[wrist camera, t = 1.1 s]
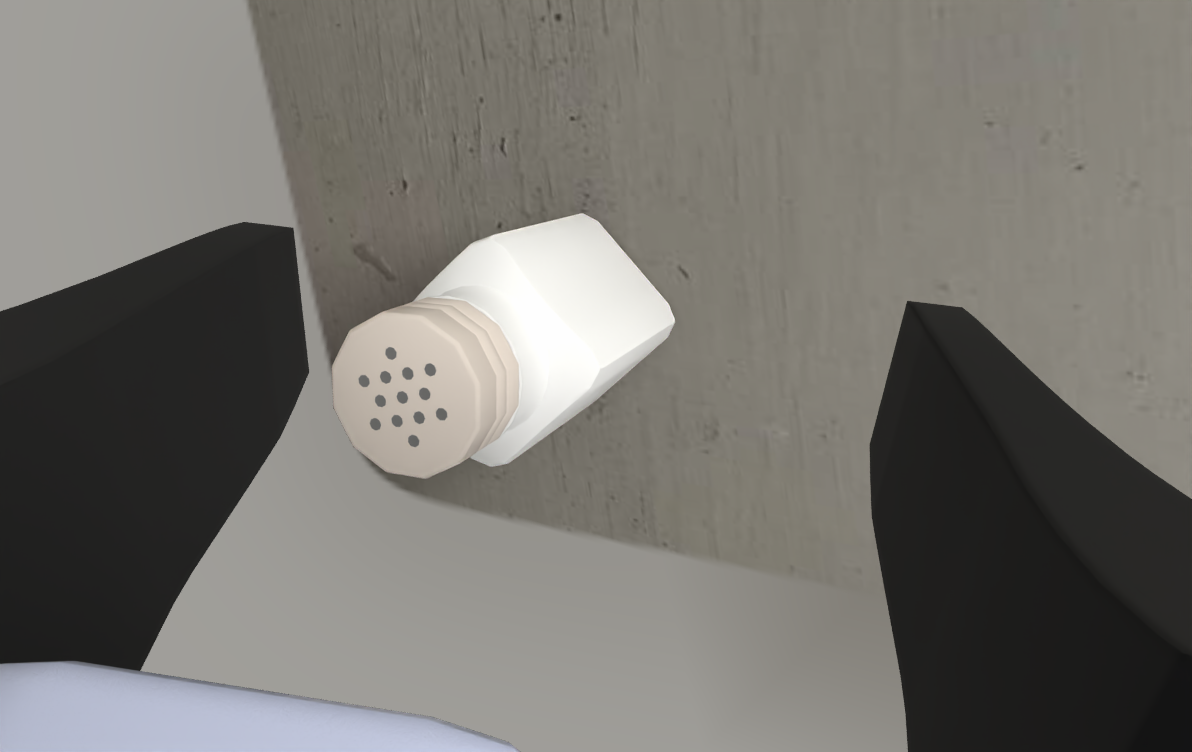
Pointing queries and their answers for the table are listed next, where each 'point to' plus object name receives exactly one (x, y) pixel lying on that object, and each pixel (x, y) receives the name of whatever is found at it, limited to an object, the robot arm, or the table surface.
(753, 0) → the table surface
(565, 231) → the salt shaker
